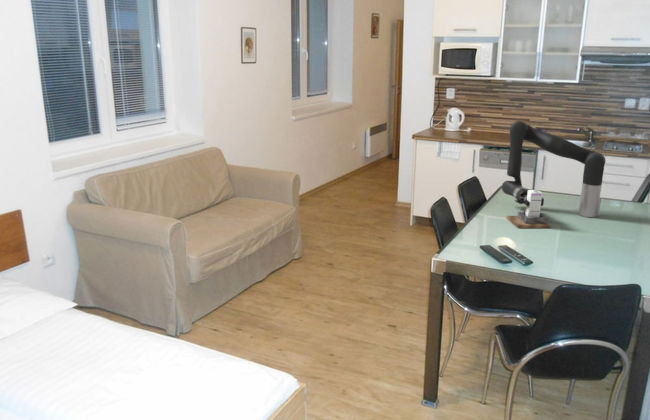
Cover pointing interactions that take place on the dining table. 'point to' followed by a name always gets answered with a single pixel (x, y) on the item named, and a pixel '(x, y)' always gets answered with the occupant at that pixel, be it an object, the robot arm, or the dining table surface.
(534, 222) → the jig
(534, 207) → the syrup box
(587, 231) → the dining table surface
